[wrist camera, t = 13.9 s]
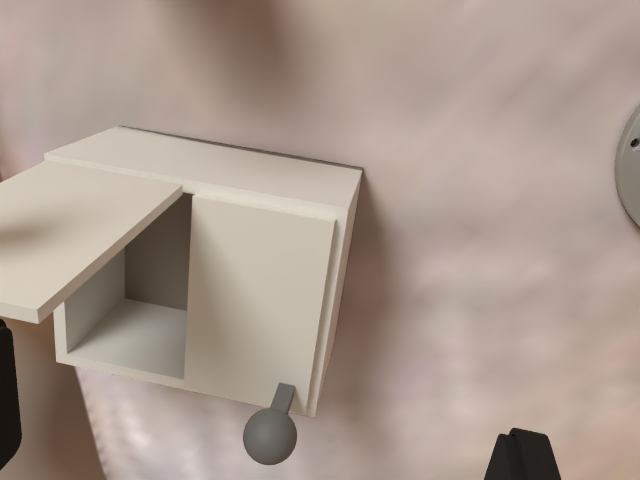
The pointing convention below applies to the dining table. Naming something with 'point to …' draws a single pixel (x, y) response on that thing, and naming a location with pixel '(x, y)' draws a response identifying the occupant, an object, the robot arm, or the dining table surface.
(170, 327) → the carton
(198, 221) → the flap
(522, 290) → the dining table surface
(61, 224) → the flap
